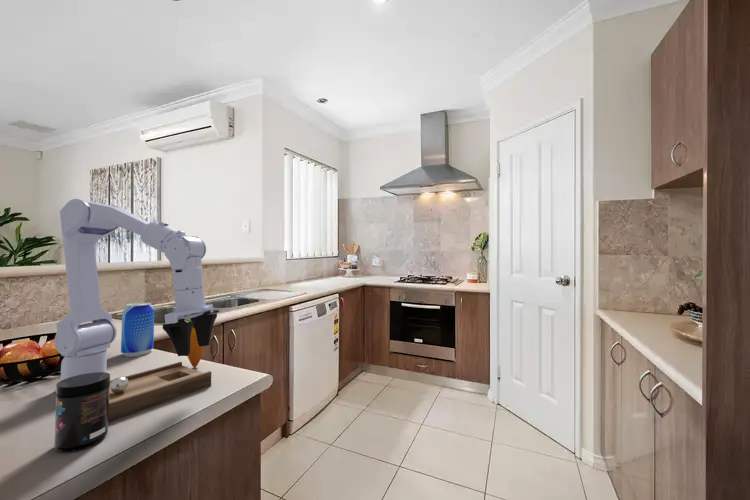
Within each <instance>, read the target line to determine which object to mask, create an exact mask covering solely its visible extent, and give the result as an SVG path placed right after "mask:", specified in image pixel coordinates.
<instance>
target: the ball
mask: <svg viewBox="0 0 750 500" xmlns="http://www.w3.org/2000/svg"><path fill="white" fill-rule="evenodd" d="M112 380H113V381H112V382H111V383H110V390H111V391H112V392H113V393H121V392H123V391H124V390H126V389H127V387H128V385H129V381H128V379H127V378H125V376H117V377H115V378H114V379H112Z"/></svg>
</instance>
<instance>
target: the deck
mask: <svg viewBox="0 0 750 500" xmlns="http://www.w3.org/2000/svg"><path fill="white" fill-rule="evenodd" d="M124 377H125V378H127V379H128V381H129V385H128V387H127V389H126V390H124V391H123V392H121V393H113V392H112V391H111V390H110V388H109V421H108V423H110V422H113V421H115V420H118V419H121V418H124V417H126V416H130V415H132V414H135V413H138V412H140V411H143V410H146V409H150V408H152V407H155V406H157V405H160V404H164V403H166V402H170V401H172V400H174V399H177V398H180V397H183V396H185V395H188V394H191V393H195V392H197V391H200V390H202V389H204V388H207V387H211V386H212V371H209V370H208V371H206V372H203V371H199V370H197V369H195V368H191V367H187V366H185V365H183V362H182V361H178V362H175V363H171V364H166V365H164V366H159V367H157V368H153V369H148V370H145V371H141V372H137V373H133V374H130V375H126V376H124ZM113 380H114V379H110V383H111V382H112V381H113Z"/></svg>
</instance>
